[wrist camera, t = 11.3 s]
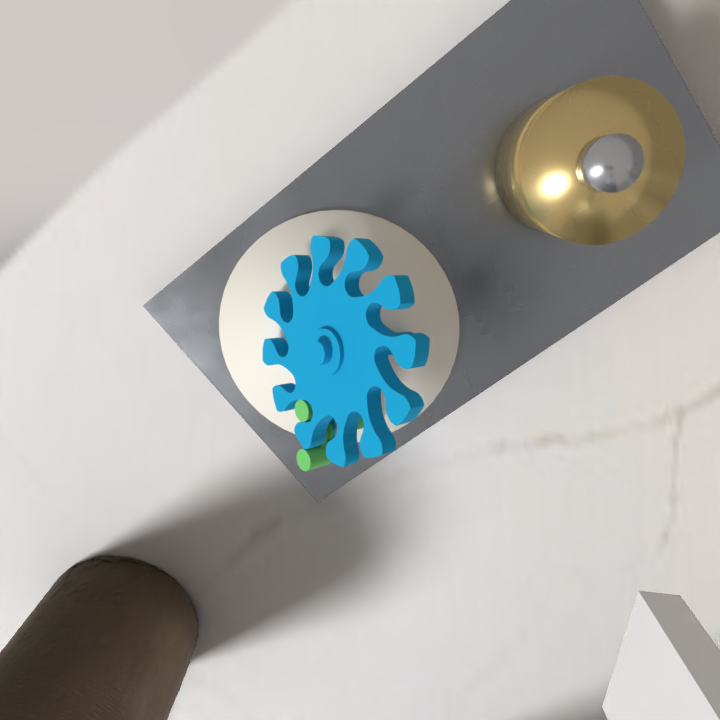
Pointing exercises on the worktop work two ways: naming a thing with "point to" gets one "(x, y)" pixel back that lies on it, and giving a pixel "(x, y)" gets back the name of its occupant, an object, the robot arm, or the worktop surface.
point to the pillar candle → (100, 646)
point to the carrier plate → (500, 195)
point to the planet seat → (400, 257)
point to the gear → (342, 353)
